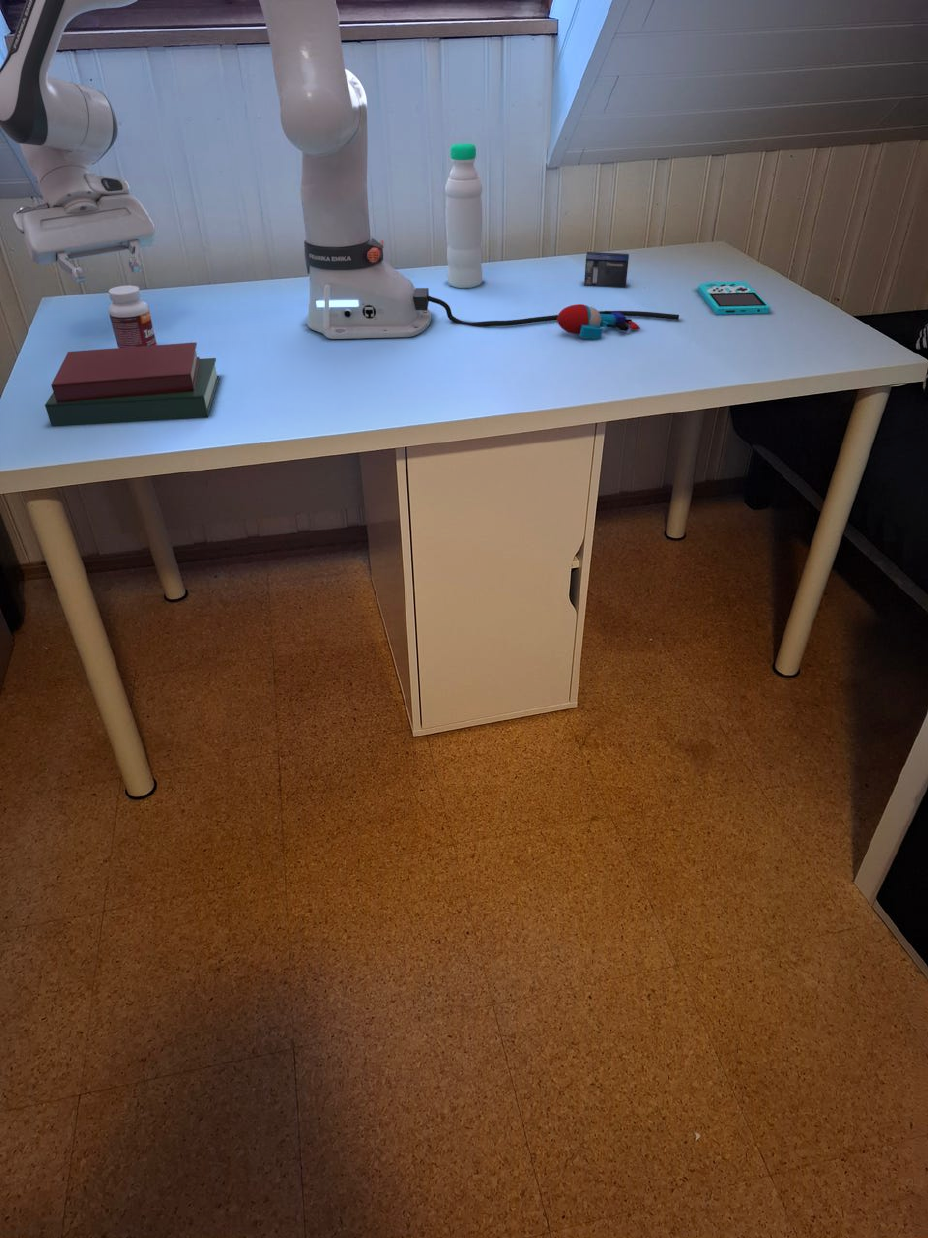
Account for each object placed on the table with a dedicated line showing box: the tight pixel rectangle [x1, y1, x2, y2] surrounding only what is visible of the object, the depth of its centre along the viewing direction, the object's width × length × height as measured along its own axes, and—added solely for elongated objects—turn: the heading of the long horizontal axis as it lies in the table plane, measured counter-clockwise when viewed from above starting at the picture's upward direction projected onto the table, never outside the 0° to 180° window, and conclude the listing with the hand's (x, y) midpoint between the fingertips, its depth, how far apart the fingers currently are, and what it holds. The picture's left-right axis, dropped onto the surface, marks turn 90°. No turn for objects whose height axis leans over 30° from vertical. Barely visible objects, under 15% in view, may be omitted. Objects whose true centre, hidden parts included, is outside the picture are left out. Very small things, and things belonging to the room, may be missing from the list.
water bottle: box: [444, 142, 483, 289], centre depth 167 cm, size 7×7×25 cm
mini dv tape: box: [583, 251, 630, 289], centre depth 171 cm, size 8×2×6 cm, turn 77°
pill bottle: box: [108, 285, 158, 348], centre depth 142 cm, size 6×6×11 cm
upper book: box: [51, 341, 201, 402], centre depth 128 cm, size 19×13×3 cm
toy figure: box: [556, 303, 641, 340], centre depth 151 cm, size 8×5×15 cm
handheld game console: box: [697, 280, 771, 316], centre depth 164 cm, size 10×16×1 cm, turn 2°
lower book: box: [44, 357, 220, 427], centre depth 130 cm, size 22×15×3 cm
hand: (109, 275), depth 142 cm, fingers open, 8 cm apart
